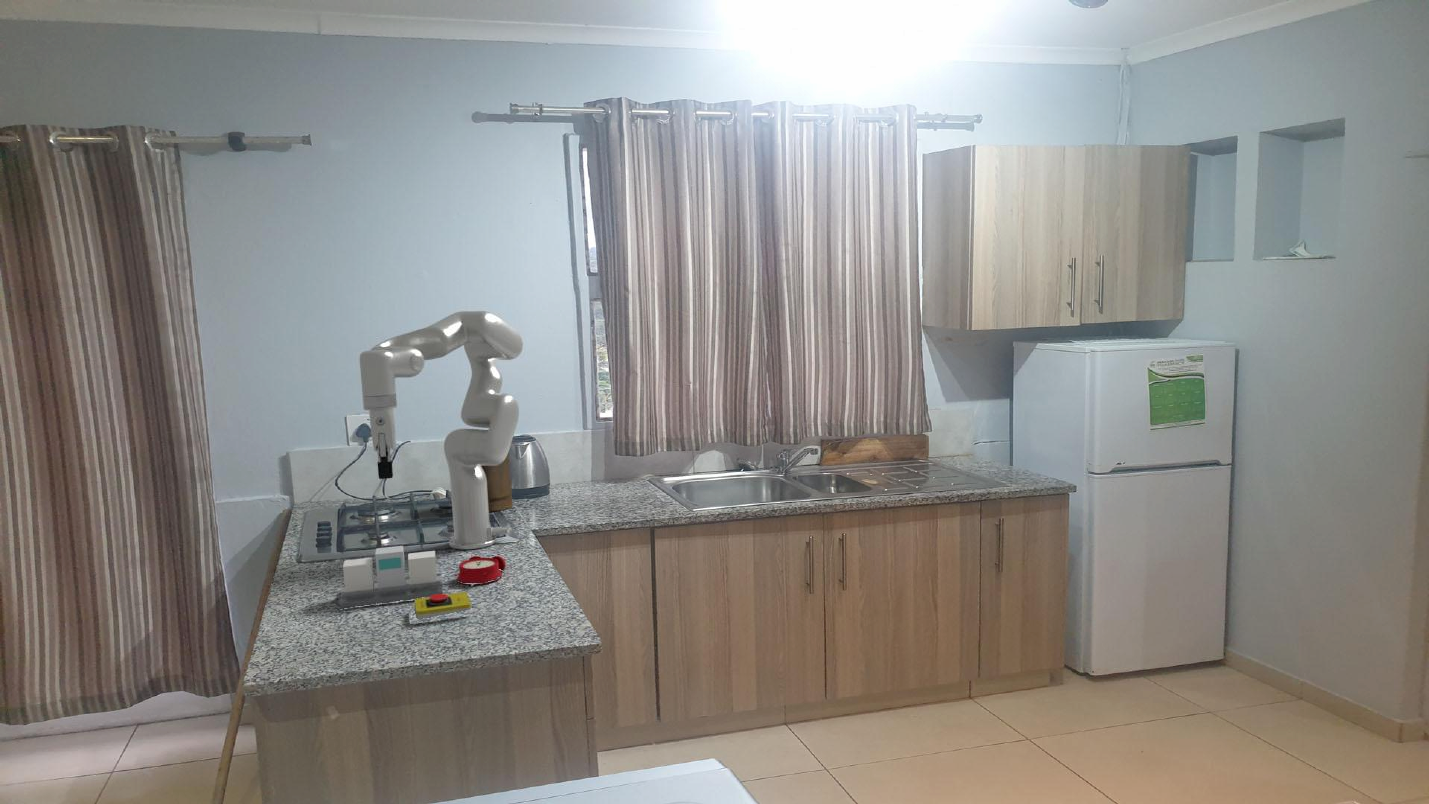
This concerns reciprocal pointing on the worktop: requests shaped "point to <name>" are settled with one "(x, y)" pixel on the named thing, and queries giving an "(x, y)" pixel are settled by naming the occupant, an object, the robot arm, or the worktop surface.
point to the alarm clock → (480, 569)
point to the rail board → (390, 593)
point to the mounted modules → (362, 576)
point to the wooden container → (498, 485)
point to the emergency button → (441, 605)
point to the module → (390, 566)
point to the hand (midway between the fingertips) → (385, 477)
